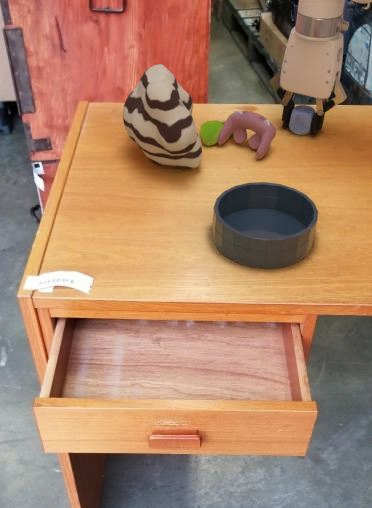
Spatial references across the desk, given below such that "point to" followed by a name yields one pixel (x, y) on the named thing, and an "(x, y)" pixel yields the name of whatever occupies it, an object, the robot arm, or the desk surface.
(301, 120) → the decorative dice
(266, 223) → the basin
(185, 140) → the sculpture
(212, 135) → the decorative leaf
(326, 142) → the desk surface
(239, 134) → the video game controller
